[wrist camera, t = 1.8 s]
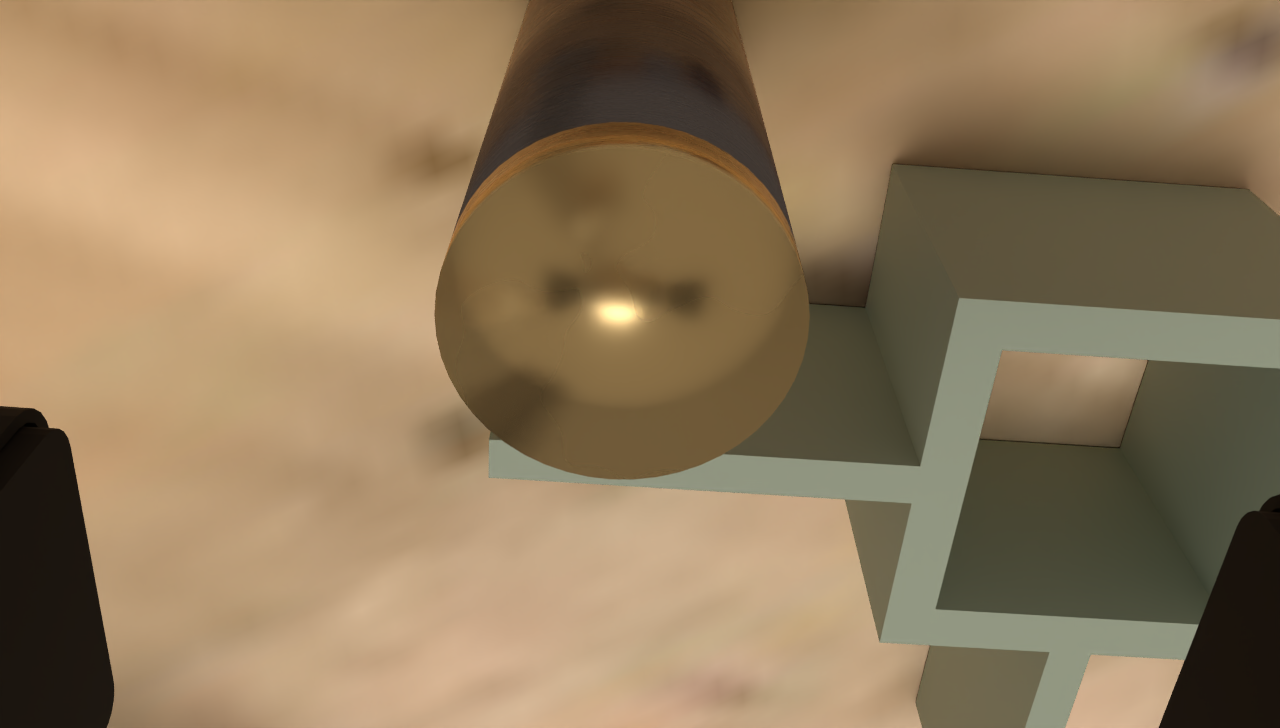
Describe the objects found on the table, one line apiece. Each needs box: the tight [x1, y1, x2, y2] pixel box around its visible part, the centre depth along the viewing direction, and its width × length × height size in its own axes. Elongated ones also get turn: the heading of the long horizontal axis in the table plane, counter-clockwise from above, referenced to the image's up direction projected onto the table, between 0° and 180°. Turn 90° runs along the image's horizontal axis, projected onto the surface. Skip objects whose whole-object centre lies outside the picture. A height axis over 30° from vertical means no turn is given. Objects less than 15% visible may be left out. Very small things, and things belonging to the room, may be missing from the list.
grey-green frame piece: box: [489, 164, 1280, 728], centre depth 26 cm, size 15×15×6 cm
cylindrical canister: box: [435, 0, 810, 480], centre depth 18 cm, size 4×4×12 cm
